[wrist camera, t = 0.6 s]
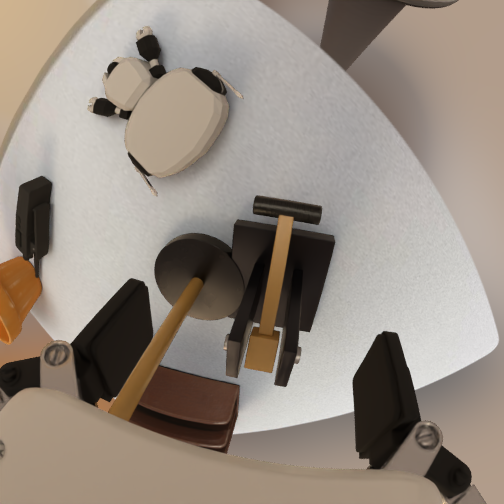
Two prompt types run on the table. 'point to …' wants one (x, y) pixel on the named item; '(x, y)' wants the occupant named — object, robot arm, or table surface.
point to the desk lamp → (184, 302)
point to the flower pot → (16, 296)
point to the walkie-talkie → (33, 220)
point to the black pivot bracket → (292, 293)
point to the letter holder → (189, 409)
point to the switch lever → (275, 276)
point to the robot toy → (163, 109)
